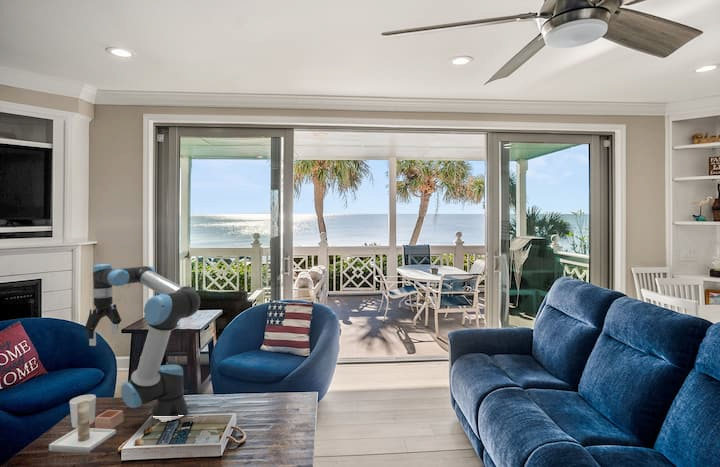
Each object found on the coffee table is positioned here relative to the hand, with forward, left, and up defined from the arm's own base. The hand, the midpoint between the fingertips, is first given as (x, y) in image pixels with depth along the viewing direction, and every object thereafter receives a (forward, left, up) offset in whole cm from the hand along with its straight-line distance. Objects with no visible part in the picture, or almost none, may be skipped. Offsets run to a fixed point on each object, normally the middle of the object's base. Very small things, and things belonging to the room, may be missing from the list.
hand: (104, 341), depth 191 cm
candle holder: (+1, +12, -35) cm, 37 cm away
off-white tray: (-11, +25, -35) cm, 44 cm away
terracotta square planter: (-12, +12, -35) cm, 39 cm away
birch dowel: (-11, +25, -33) cm, 43 cm away
